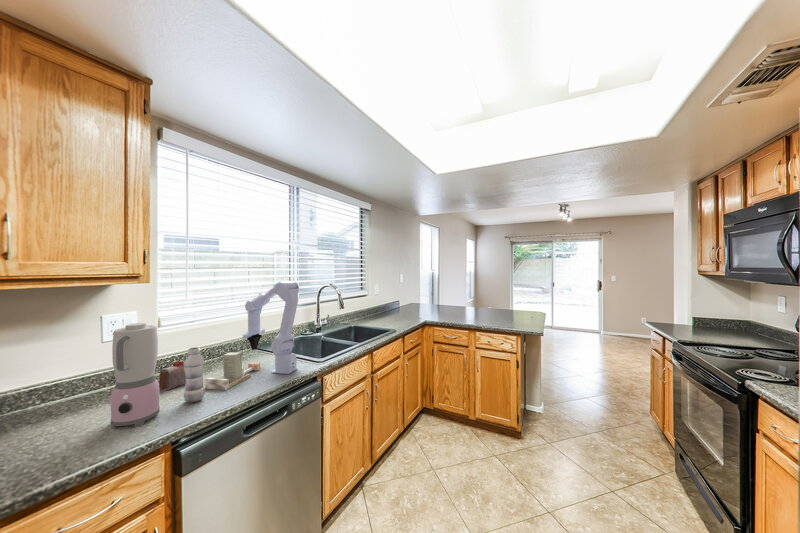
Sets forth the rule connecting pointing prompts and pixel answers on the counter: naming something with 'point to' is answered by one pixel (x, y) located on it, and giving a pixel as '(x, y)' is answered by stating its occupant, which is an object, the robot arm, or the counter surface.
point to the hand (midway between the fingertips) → (254, 349)
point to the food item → (172, 376)
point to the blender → (134, 375)
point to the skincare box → (232, 366)
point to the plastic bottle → (194, 376)
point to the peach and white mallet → (251, 367)
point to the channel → (223, 382)
